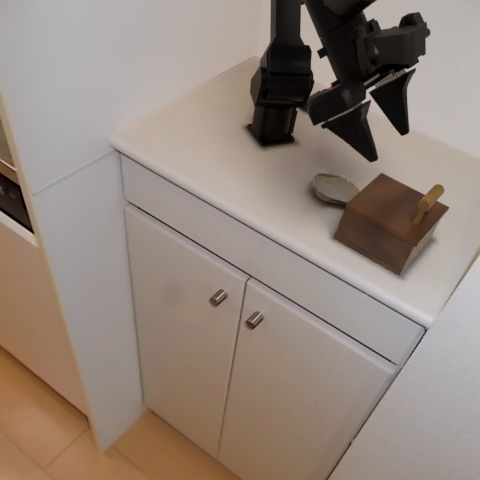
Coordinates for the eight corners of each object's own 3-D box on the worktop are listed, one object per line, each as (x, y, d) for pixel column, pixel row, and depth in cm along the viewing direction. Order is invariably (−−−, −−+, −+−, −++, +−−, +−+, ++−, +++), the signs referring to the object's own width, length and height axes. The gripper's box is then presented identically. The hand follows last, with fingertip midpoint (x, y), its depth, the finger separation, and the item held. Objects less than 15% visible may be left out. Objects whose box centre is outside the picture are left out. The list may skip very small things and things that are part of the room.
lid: (447, 211, 73) (462, 182, 70) (416, 247, 67) (431, 218, 64) (379, 177, 77) (390, 148, 73) (344, 208, 71) (354, 178, 67)
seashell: (360, 213, 82) (336, 175, 85) (371, 200, 80) (346, 161, 83) (321, 218, 78) (297, 178, 81) (331, 205, 76) (306, 163, 78)
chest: (430, 239, 78) (445, 210, 74) (399, 275, 72) (414, 246, 68) (368, 206, 81) (379, 177, 77) (333, 238, 75) (344, 208, 71)
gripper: (360, 8, 51) (417, 155, 56) (434, -27, 62) (477, 99, 67) (280, 59, 60) (336, 183, 65) (357, 21, 70) (400, 130, 75)
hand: (390, 147), depth 68 cm, fingers open, 9 cm apart
